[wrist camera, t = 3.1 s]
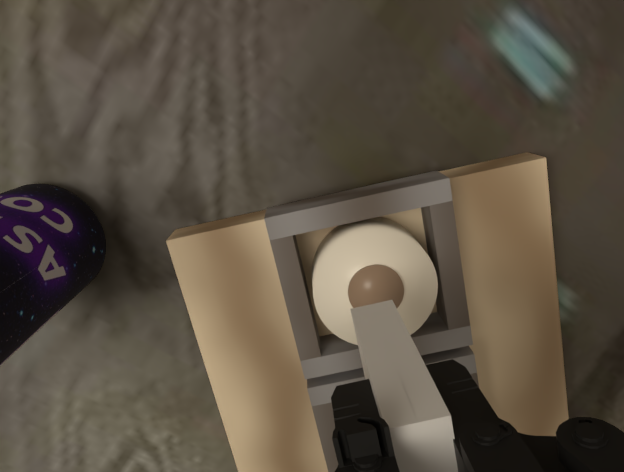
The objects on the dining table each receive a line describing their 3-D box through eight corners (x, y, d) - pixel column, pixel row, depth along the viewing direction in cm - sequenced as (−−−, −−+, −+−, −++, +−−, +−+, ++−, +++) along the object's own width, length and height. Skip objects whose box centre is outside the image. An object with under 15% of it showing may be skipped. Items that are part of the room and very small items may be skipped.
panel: (285, 587, 33) (283, 654, 29) (172, 219, 26) (150, 243, 22) (564, 534, 32) (600, 595, 28) (526, 142, 25) (567, 152, 21)
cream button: (324, 332, 25) (327, 360, 23) (300, 230, 24) (300, 247, 21) (432, 310, 25) (447, 335, 22) (414, 205, 23) (428, 219, 21)
